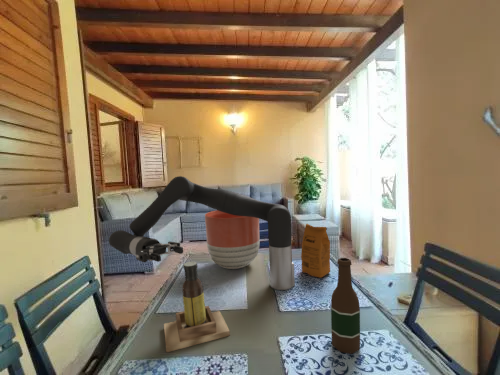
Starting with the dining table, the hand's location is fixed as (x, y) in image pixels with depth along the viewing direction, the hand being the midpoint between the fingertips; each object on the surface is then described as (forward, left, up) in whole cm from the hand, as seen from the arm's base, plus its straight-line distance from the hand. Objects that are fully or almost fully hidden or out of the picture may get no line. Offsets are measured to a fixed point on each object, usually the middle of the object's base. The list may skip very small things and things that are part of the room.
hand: (171, 254), depth 88 cm
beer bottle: (-42, +33, -22) cm, 58 cm away
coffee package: (-63, -12, -22) cm, 68 cm away
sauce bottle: (-5, +10, -21) cm, 23 cm away
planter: (-32, -37, -22) cm, 54 cm away
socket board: (-5, +10, -22) cm, 25 cm away
